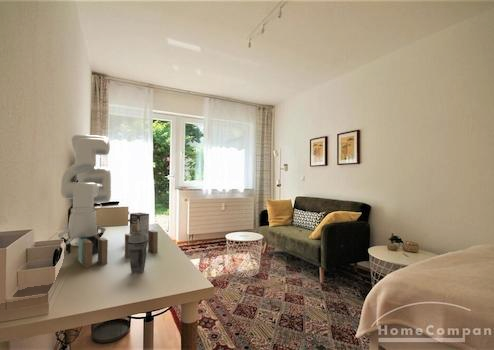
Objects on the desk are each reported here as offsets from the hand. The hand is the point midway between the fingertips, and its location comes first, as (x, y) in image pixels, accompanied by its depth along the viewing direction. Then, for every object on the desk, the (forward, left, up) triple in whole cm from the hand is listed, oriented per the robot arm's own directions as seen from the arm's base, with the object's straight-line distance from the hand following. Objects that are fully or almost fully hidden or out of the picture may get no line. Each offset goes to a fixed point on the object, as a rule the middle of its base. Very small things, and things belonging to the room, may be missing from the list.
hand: (82, 250), depth 103 cm
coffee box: (-16, +30, -5) cm, 34 cm away
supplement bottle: (-12, +6, -5) cm, 14 cm away
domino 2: (+7, +6, -5) cm, 10 cm away
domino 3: (+7, +17, -5) cm, 19 cm away
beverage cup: (+28, +12, -5) cm, 31 cm away
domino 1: (+7, 0, -5) cm, 9 cm away
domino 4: (+7, +28, -5) cm, 29 cm away
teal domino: (-1, 0, -5) cm, 5 cm away
